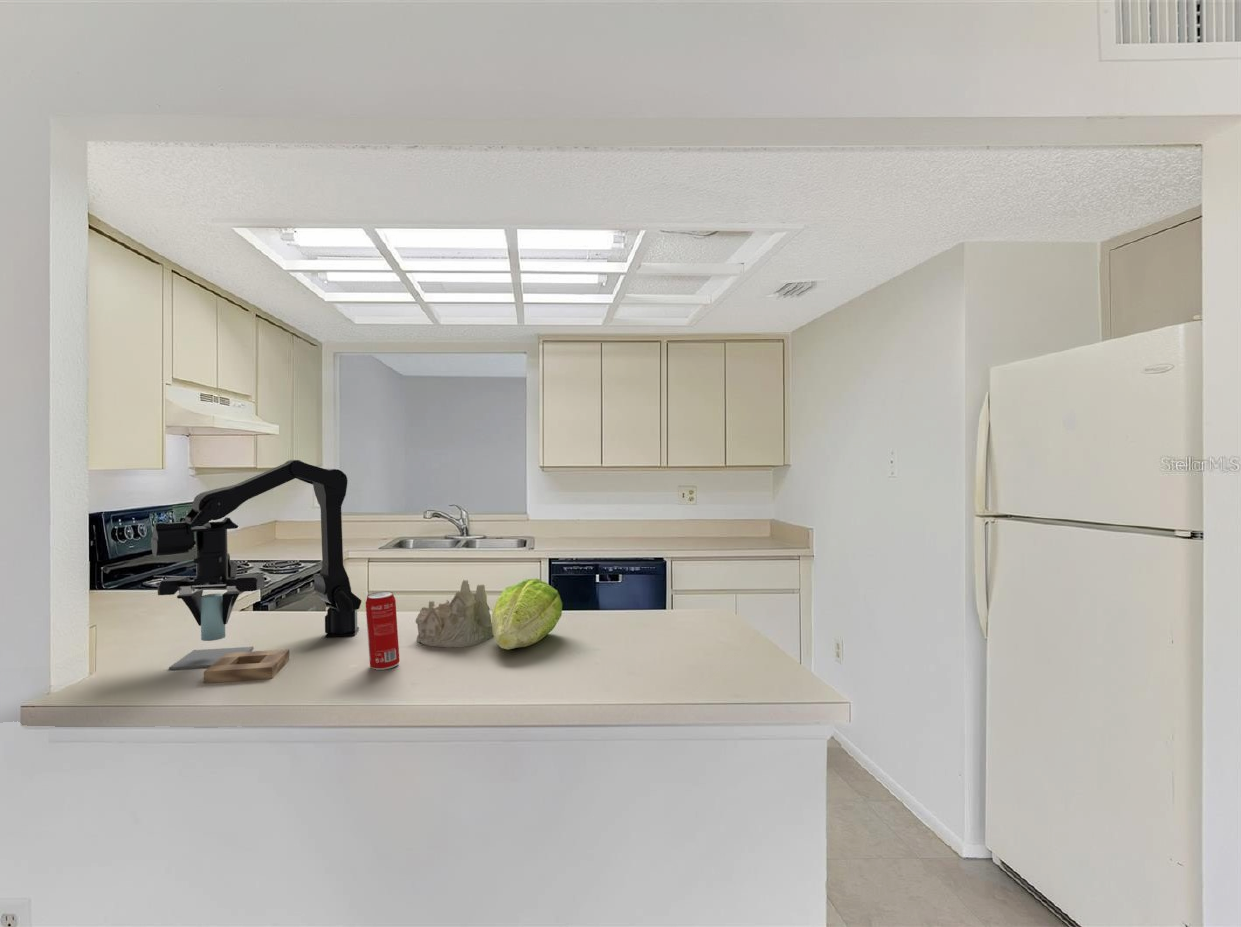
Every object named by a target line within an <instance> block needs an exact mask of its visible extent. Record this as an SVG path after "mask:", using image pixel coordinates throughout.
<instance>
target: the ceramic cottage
mask: <svg viewBox="0 0 1241 927" xmlns="http://www.w3.org/2000/svg"><path fill="white" fill-rule="evenodd" d="M487 598H488V597H487V594H486V587H485V584H484V583H479V584H477V586H476V590H475V592H472V590H471V589H470V583H469V580H468V579H463V580H462V583H461V585H460V591H456V593H455V595H454V597H453V598H452V599H451V601H450V600H449V599H447V600H445V601H444V602H443V603H438V605H435V601H434V600H429V601H428V607H426V606H422V607H421V609H420V610H419V613H418V615H417V616H416V619H415V623H416V624H417V632H418V635H417V636H416V642H417V643H421V644H423V645H427V646H430V647H438V648H444V647H445V648H463V647H464V648H465V647H471V646H476V645H479V644H480V643H481V644H482V643H483V642H485V641H487V640H489V639H492V638H494V635H493V631H492V616H491V615H492V614H491V613H490V610H491V608H490V606H489V605H488V602H487V601H488V600H487Z"/></svg>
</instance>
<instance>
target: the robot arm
mask: <svg viewBox="0 0 1241 927" xmlns="http://www.w3.org/2000/svg"><path fill="white" fill-rule="evenodd" d="M295 479H296V480H299V481H302V482H303V483H305V484H310V485H313V490H314V495H315V498H316V500H317V502H318V505H319V507H320V508H319V509H320V527H321V528H320V531H321V555H322V556H321V558H322V559H321V560H322V566H321V569H320V572H319V573H314V574H313V580H314V587H313V591H314V592H316V596H317V597H318V598H319V599H320V600H321V601H323V603H324V605H325V607H327V610H326V611H327V612H326V615H325V616H324V633H325V638H334V637H335V638H336V637H339V638H340V637H351V636H352V637H354V636H355V635H356V634H357V633H358V632H359V630H360V627H359V626H358V610H360V607H361V605H362V599H361V598H359V597H358V596H357V595H355V593H353V592H352V586H351V582H350V577H349V576H348V573H347V571H346V567H345V566H344V549H343V548H344V547H343V521H342V505H343V503H344V499H345V498H346V495H347V488H348V477H347V474H346V473H344V472H343V471H342V470H340V469H336V468H322V467H319V466H316V465H313V464H309V463H307V462H304V461H303V460H300V459H290V460H287V461H285V462H283V464H280V465H278V466H276V467H273V468H271V469H269V470H268V469H267V470H266V471H264V472H261V473H259V474H256V475H255V476H252V477H250V478H248V479H245V480H244V481H241V482H238V483H236V484H232V485H230V486H229V485H228V486H222V487H219V488H218V487H217V488H215V489H211V490H207V491H203V492H200V493H198V494H197V495H196V496H195V497H194V499H193V501H192V508H191V509H190V510H189V511H188V513H187V514H186V515H185V516H184V518H183V519H182V520H181V521H177V522H175V521H173V522H154V523H153V530H152V537H151V540H150V545H151V546H150V547H151V552H152V556H153V557H154V558H157V557H167V556H176V555H177V556H178V555H187V554H188V553H189V551H190V550H192V549H194V548H195V558H193V564H196V565H195V566H196V567H195V568H196V570H195V571H196V572H195V576H196V577H195V578H193V579H194V580H191V579H190V577H189V576H172V577H168V578H166V579H163V580H160V582H159V583H158V584H157V596H173V595H175V594H176V593H178V595H177V596H176V599H181V600H182V601H183V603H184V604H185V605H186V606H187V608H188V609H189V611H190V612H191V614H192V616H193V618H194V619H195V621H196V624H197V625H198V626H199V627H201V603H200V597H201V596H203V593H204V589H207V590H208V589H209V590H210V589H226V592H224V593H222V594H223V623H224V624H225V625H227V624H228V622H229V619H230V617H231V614H232V612H233V609H234V606H235V603H236V601H237V600H238V597H239V596H240V595H242V594H244V593H246V592H255V591H256V592H257V591H259V590H260V589H261V588H263V587H265V576H264V575H263V574H262V573H244V574H242V575H240V576H238V577H237V574H238V563H236V562H234V561H232V560H231V556H230V553H229V552H228V530H234V529H238V527H239V525H238V524H236V523H235V522H233V520H232V519H231V518H230V517H226V516H228V515H229V514H230V513H233V511H235V510H237V509H239V507H240V506H242V504H244V503H245V502H246V501H248V500H251V499H252V498H255V497H256V496H259V495H261V494H264V493H266V492H268V491H271V490H273V489H275V488H277V487H280V486H282V485H284V484H286V483H288V482H291V481H293V480H295ZM221 519H222V520H221ZM218 520H220V521H218ZM194 546H195V547H194Z"/></svg>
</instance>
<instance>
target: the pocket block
mask: <svg viewBox="0 0 1241 927" xmlns="http://www.w3.org/2000/svg"><path fill="white" fill-rule="evenodd" d="M289 661H290V649H289V648H287V649H286V648H285V649H272V650H271V649H268V650H254V651H253V650H252V651H250V652H234V653H226V654H225V655H224V656H222V657H221V658H220V659H219V660H217V661H216V662H215V663H214V664H212V665H211V666H210V667H207V668H206V669H205V670H203V683H204V684H207V683H208V684H209V683H211V684H212V683H223V682H224V683H225V682H239V681H240V682H241V681H254V680H266V679H267V680H268V679H273V678H274V677H275V676H276V675H277V674H278V673H279V671H280V672H281V669H282V668H284V666H285V665H286V664H287V663H288V662H289Z"/></svg>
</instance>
